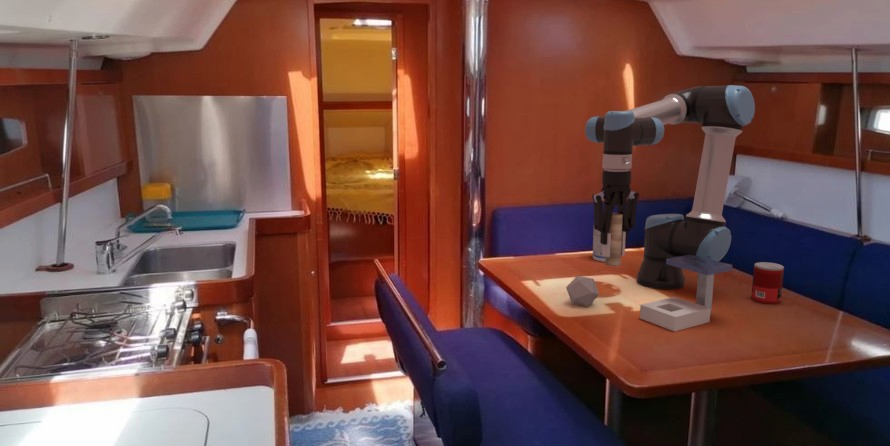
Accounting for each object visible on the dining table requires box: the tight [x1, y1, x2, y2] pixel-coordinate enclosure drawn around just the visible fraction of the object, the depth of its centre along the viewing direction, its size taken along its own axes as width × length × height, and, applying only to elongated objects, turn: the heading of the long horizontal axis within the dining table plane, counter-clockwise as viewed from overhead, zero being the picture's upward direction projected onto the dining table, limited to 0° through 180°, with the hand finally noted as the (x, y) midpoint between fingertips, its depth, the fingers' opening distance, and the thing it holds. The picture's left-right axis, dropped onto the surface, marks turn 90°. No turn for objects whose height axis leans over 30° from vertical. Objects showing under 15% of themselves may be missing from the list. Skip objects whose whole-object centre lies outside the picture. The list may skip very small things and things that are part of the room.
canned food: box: [751, 261, 785, 305], centre depth 192 cm, size 8×8×11 cm
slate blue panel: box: [666, 255, 733, 315], centre depth 179 cm, size 14×10×16 cm
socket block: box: [639, 296, 712, 332], centre depth 176 cm, size 12×14×4 cm
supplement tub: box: [592, 228, 606, 263], centre depth 241 cm, size 10×10×15 cm
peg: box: [604, 212, 623, 267], centre depth 173 cm, size 4×4×14 cm
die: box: [565, 275, 600, 307], centre depth 190 cm, size 8×9×10 cm
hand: (613, 254), depth 174 cm, fingers closed on peg, 4 cm apart
